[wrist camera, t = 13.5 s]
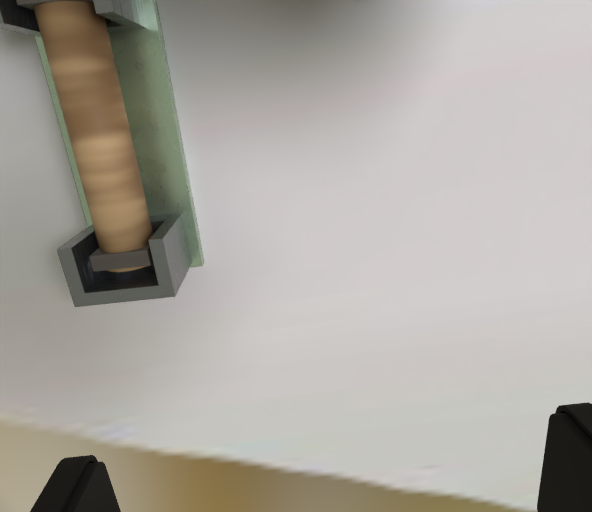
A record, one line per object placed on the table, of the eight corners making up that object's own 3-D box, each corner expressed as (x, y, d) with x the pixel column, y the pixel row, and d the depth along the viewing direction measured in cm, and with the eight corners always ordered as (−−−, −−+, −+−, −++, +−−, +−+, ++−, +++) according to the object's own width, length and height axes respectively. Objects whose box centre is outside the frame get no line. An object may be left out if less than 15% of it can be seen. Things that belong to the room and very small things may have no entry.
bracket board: (21, -37, 31) (-61, -77, 24) (146, -50, 31) (105, -94, 24) (105, 272, 40) (65, 314, 32) (204, 261, 40) (187, 301, 32)
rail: (45, -9, 29) (9, -25, 25) (107, -16, 29) (81, -33, 25) (114, 255, 36) (94, 275, 32) (165, 249, 36) (151, 269, 32)
